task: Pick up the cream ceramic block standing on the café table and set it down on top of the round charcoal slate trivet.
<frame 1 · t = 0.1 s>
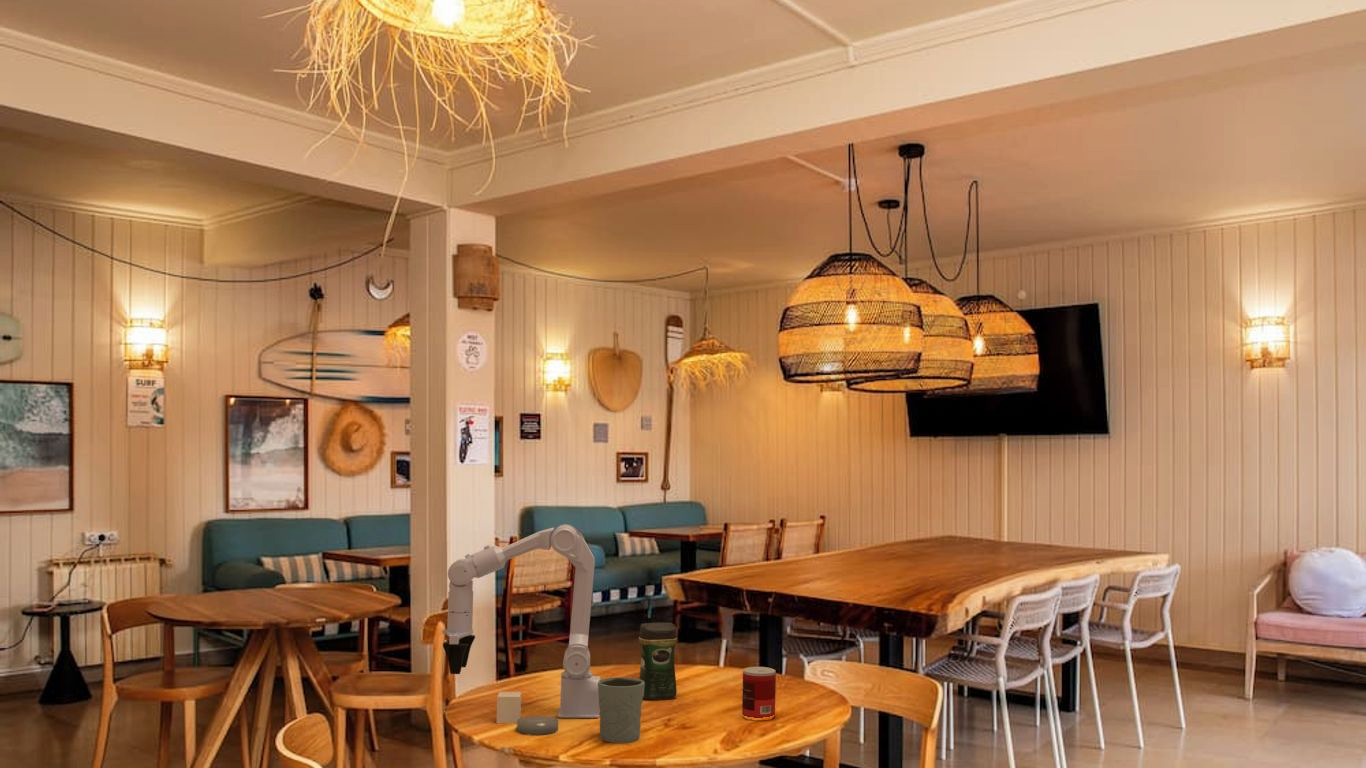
hand: (458, 670, 247), 10 cm above the table, tool pointing down, fingers open, 7 cm apart
green cup: (619, 738, 230), on the table
coffee jar: (656, 697, 268), on the table
slate trivet: (537, 729, 235), on the table
canned food: (758, 718, 250), on the table
cream block: (508, 720, 242), on the table
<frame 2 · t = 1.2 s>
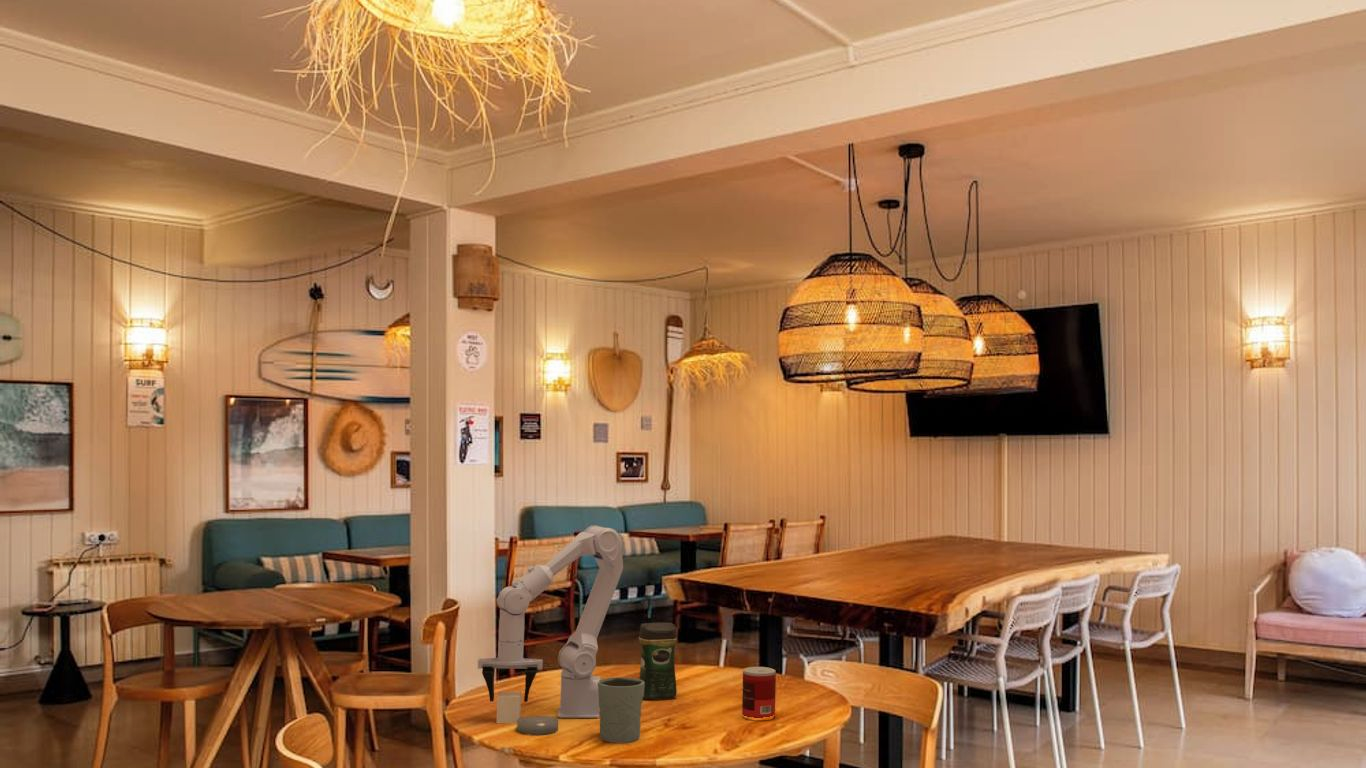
hand: (508, 700, 242), 4 cm above the table, tool pointing down, fingers open, 7 cm apart
nothing on the table moved.
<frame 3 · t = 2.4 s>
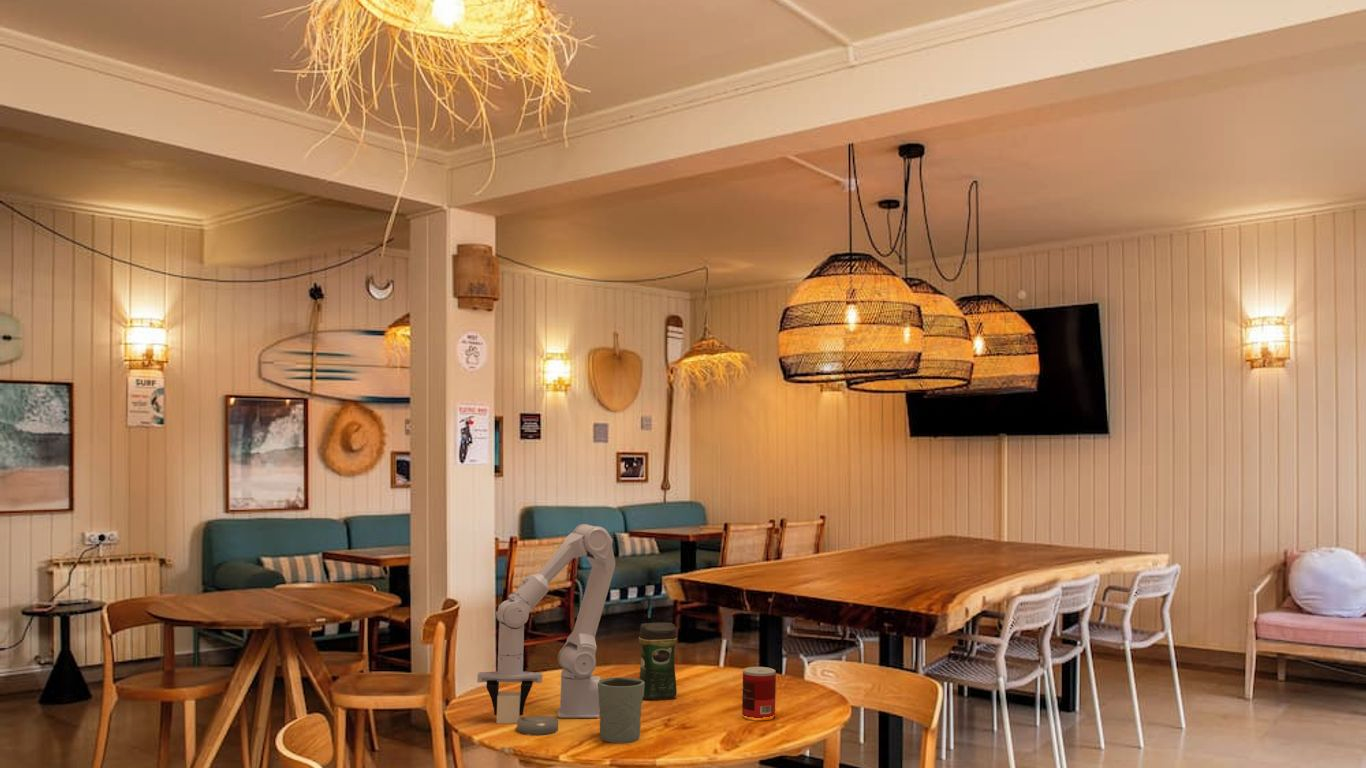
hand: (508, 714, 242), 1 cm above the table, tool pointing down, fingers closed on cream block, 5 cm apart
cream block: (508, 720, 242), on the table, touching gripper
everything else where it was.
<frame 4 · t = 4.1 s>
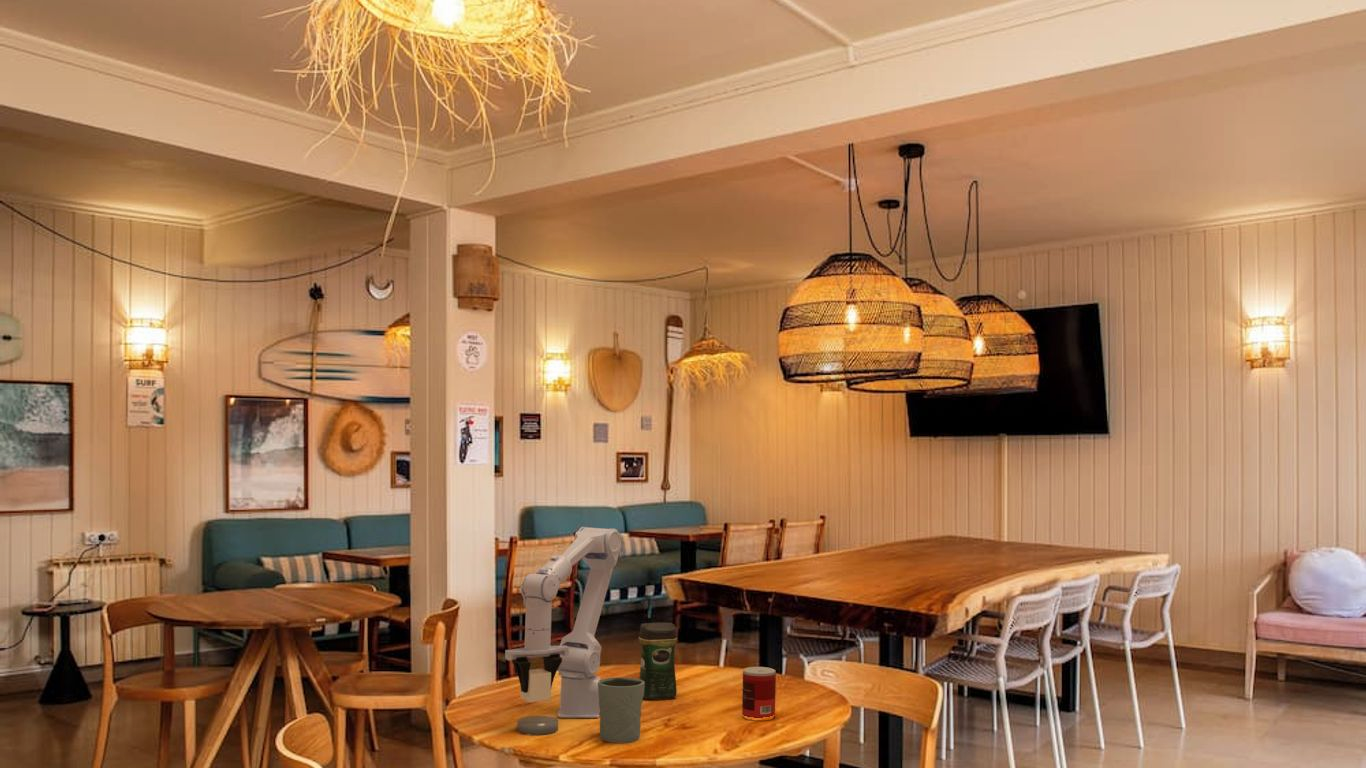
hand: (536, 690, 236), 8 cm above the table, tool pointing down, fingers closed on cream block, 5 cm apart
cream block: (535, 699, 236), point 6 cm above the table, touching gripper
everything else where it was.
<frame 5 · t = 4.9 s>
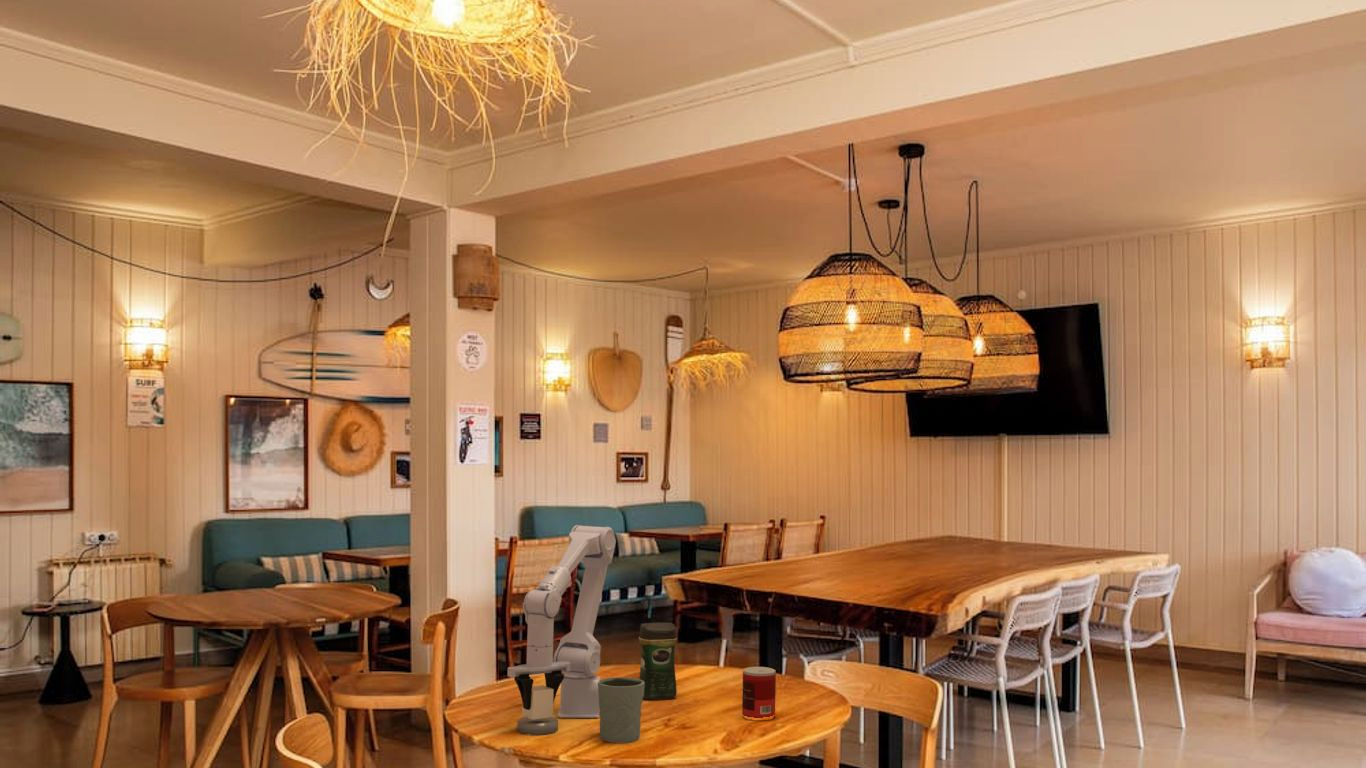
hand: (538, 707, 235), 5 cm above the table, tool pointing down, fingers closed on cream block, 5 cm apart
cream block: (537, 715, 235), point 3 cm above the table, touching gripper
everything else where it was.
when the fingers open (5 cm above the table, at t = 5.7 s): cream block stays where it is, resting on slate trivet.
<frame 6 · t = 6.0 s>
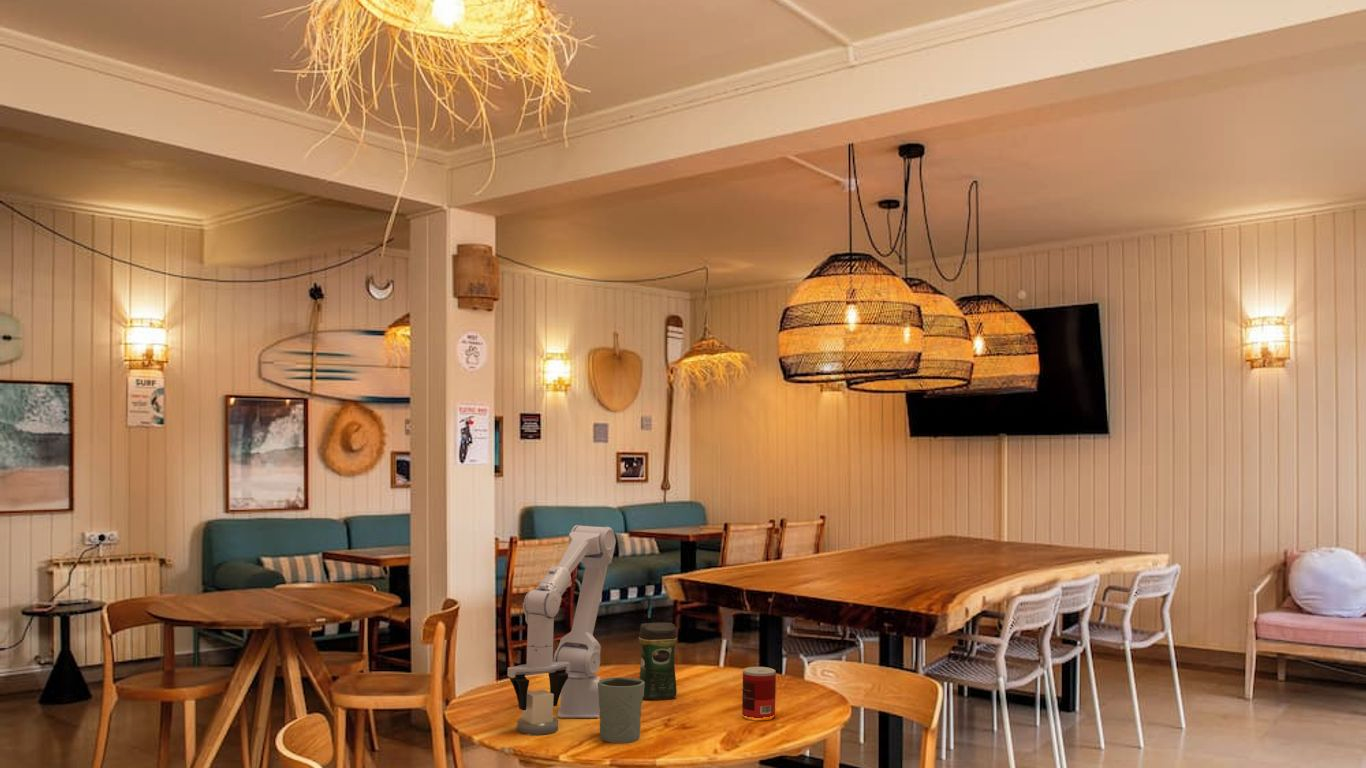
hand: (538, 707, 235), 5 cm above the table, tool pointing down, fingers open, 7 cm apart
cream block: (537, 720, 235), point 2 cm above the table, touching slate trivet
everything else where it was.
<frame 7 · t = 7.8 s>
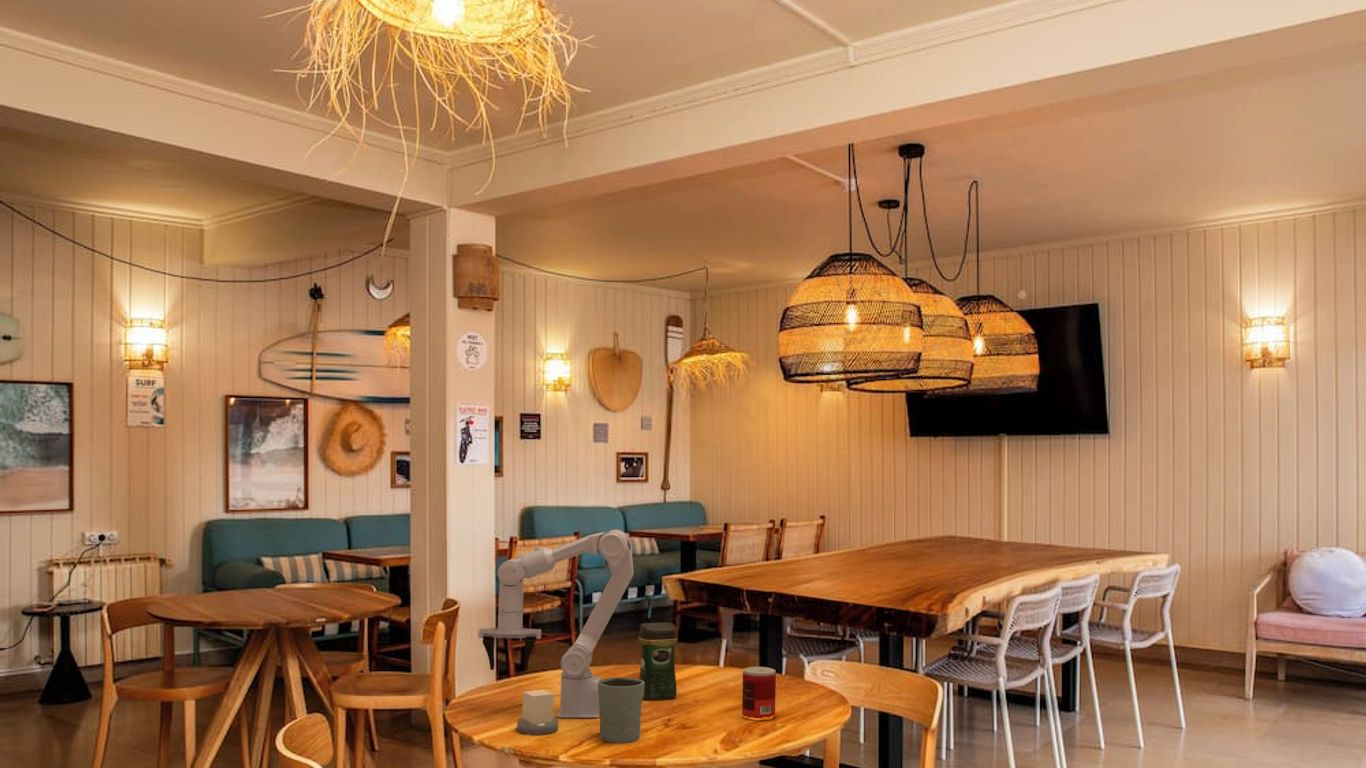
hand: (508, 669, 250), 10 cm above the table, tool pointing down, fingers open, 7 cm apart
nothing on the table moved.
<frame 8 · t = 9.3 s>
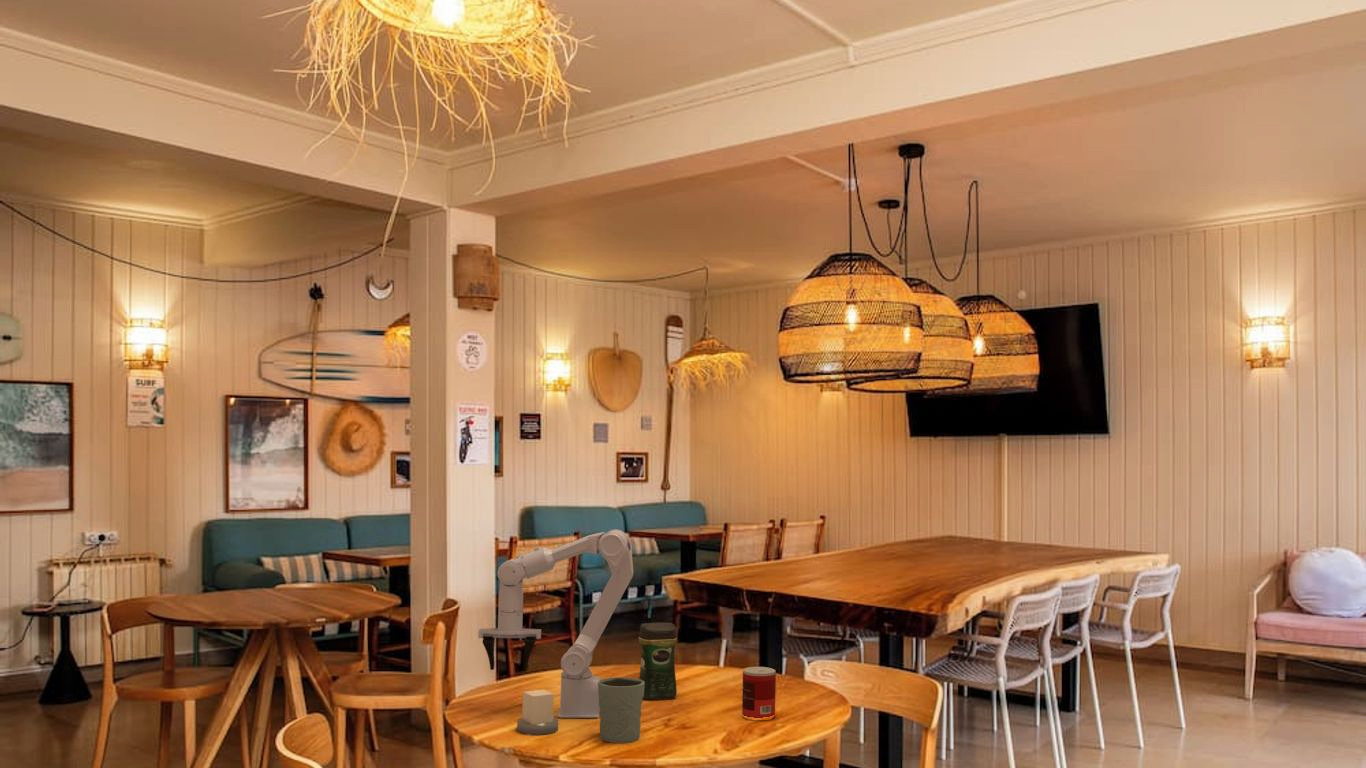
hand: (508, 669, 250), 10 cm above the table, tool pointing down, fingers open, 7 cm apart
nothing on the table moved.
at the end: cream block 0.2 cm off-centre on the slate trivet, point 2.0 cm above the slate trivet's base; cream block tilted 0°; the gripper is holding nothing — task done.
